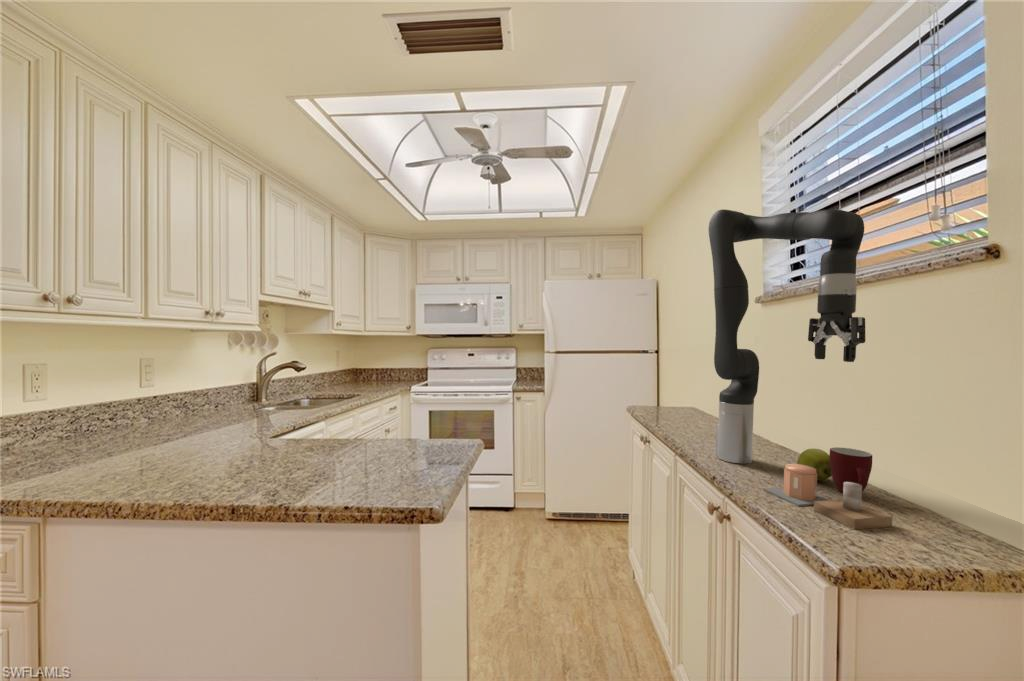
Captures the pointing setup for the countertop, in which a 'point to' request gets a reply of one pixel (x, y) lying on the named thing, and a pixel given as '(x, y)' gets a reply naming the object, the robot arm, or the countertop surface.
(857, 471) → the mug
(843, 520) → the post block
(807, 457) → the apple
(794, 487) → the cap
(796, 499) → the mat
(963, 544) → the countertop surface
